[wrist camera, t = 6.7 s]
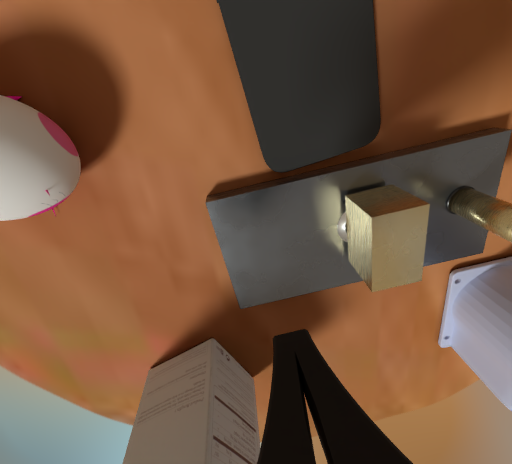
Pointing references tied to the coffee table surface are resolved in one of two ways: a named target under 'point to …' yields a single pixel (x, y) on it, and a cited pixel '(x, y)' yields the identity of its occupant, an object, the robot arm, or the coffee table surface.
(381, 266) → the wooden block
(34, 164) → the stress ball
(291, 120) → the phone
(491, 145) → the plate
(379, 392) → the coffee table surface
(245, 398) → the supplement box
